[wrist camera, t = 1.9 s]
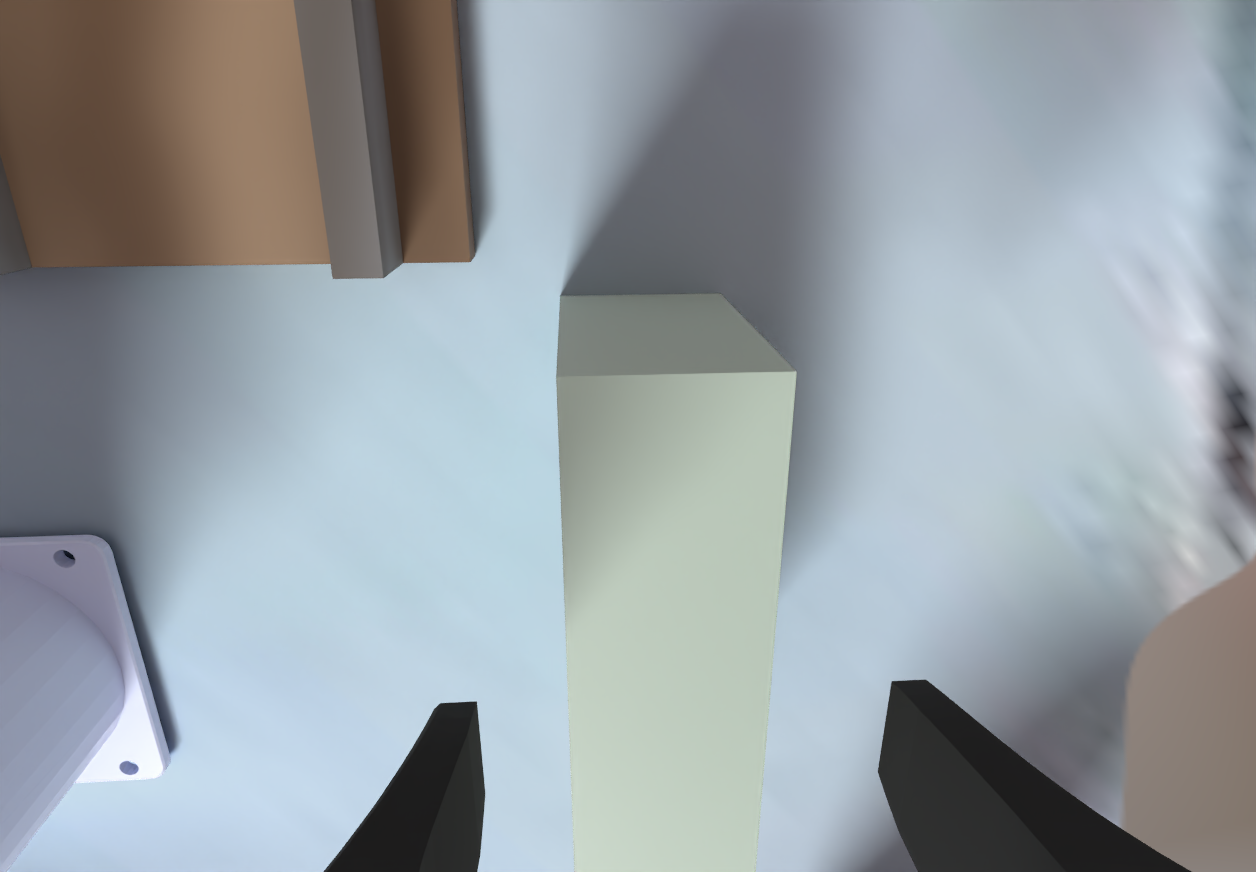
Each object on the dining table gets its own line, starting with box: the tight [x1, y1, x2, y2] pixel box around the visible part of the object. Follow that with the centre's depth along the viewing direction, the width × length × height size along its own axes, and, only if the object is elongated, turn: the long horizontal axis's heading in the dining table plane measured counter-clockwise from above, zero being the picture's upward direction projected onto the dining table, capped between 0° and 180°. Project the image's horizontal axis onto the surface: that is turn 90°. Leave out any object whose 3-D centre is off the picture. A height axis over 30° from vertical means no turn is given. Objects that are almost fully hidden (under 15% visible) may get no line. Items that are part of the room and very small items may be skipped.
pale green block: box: [556, 293, 797, 872], centre depth 18 cm, size 4×12×7 cm, turn 0°
